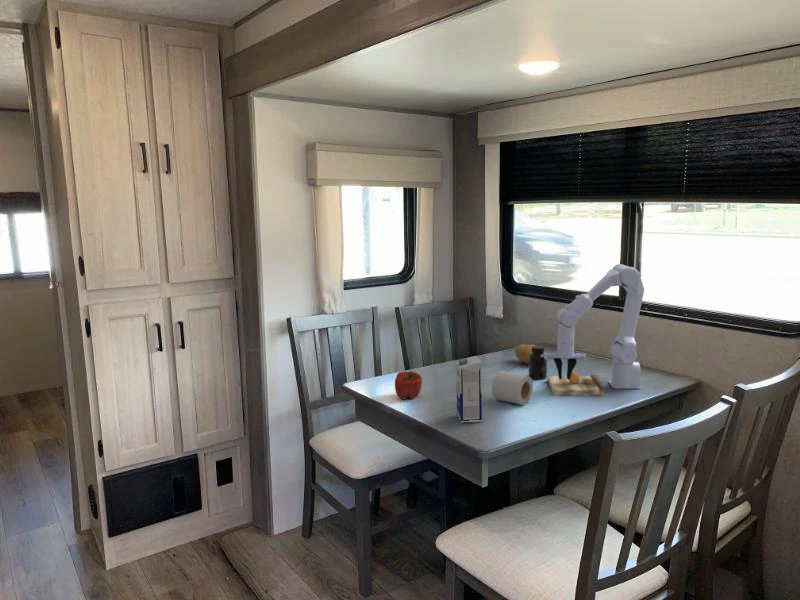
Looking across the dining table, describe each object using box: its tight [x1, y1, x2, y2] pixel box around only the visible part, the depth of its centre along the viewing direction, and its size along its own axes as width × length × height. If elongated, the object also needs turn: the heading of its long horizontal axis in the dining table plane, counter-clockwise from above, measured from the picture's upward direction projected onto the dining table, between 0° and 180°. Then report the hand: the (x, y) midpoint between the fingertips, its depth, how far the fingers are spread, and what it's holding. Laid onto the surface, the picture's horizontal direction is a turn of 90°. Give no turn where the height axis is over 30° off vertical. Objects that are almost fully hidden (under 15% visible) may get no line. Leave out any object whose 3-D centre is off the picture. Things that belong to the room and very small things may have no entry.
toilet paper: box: [491, 370, 534, 406], centre depth 202 cm, size 10×10×10 cm
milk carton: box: [455, 355, 483, 421], centre depth 187 cm, size 7×7×20 cm
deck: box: [547, 372, 605, 397], centre depth 214 cm, size 18×16×3 cm
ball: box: [569, 371, 581, 383], centre depth 214 cm, size 4×4×4 cm
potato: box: [514, 343, 547, 365], centre depth 245 cm, size 10×14×8 cm
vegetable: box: [394, 371, 423, 399], centre depth 210 cm, size 11×10×10 cm
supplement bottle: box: [528, 345, 548, 380], centre depth 227 cm, size 7×7×12 cm
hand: (564, 378), depth 214 cm, fingers open, 2 cm apart
